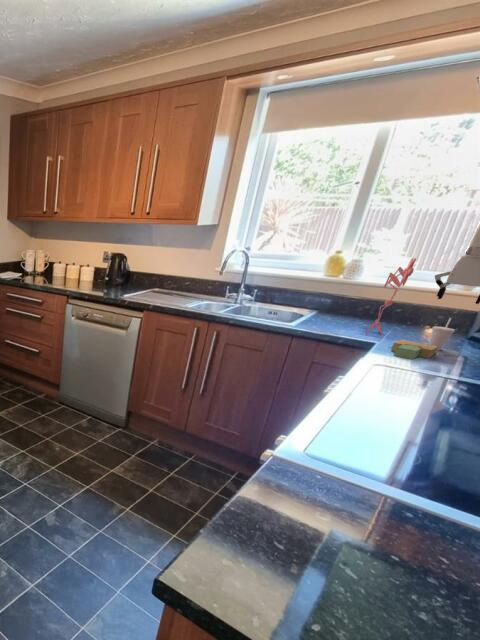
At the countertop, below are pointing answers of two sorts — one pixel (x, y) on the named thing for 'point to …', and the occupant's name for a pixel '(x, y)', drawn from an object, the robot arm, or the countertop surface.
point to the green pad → (407, 351)
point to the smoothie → (440, 335)
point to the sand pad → (425, 348)
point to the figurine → (404, 274)
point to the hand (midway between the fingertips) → (457, 301)
